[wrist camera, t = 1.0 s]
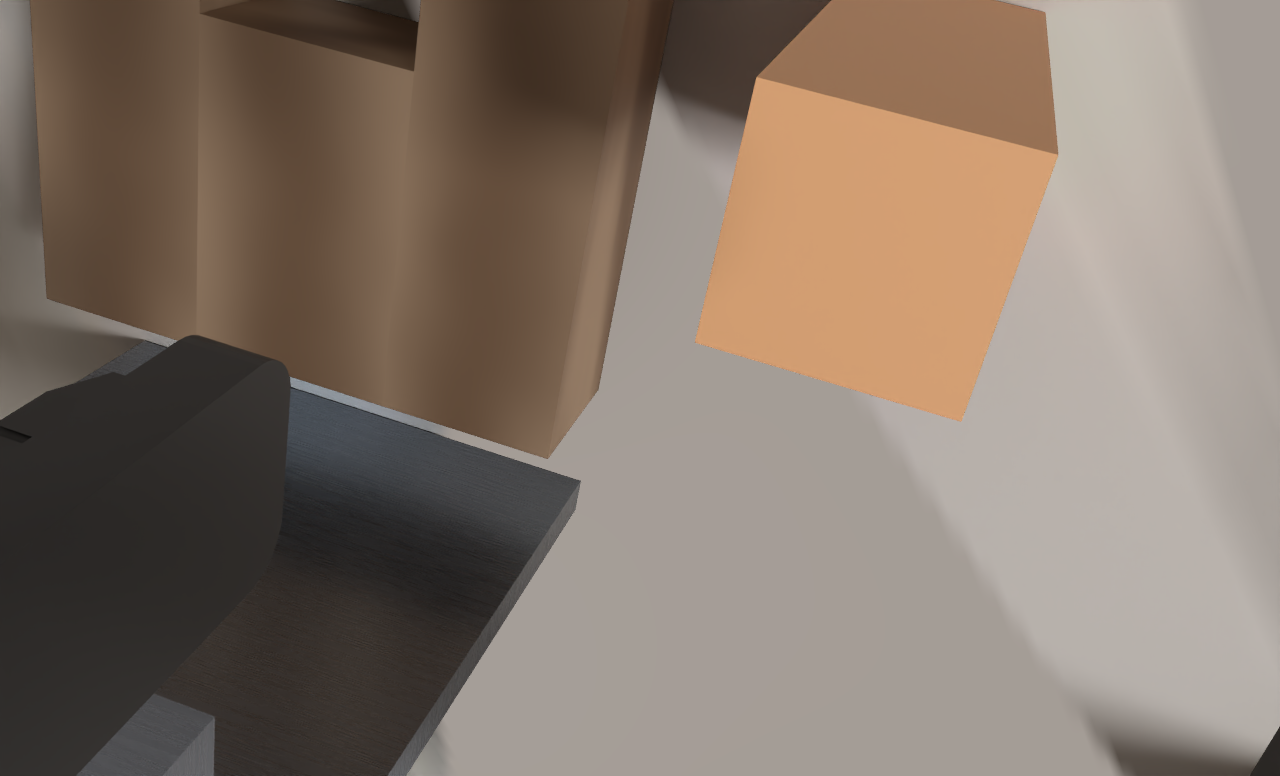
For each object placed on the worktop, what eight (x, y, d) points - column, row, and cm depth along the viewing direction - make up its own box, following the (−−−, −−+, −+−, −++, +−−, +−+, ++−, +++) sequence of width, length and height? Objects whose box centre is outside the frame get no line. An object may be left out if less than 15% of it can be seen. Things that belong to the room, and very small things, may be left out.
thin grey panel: (624, 254, 31) (139, 801, 14) (574, 509, 35) (147, 1182, 18) (141, 115, 33) (-778, 442, 16) (144, 369, 37) (-597, 848, 20)
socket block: (726, -274, 25) (678, -286, 22) (598, 389, 33) (547, 459, 29) (134, -399, 27) (6, -428, 24) (143, 249, 35) (47, 298, 32)
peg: (1045, 12, 26) (1057, 155, 15) (985, 189, 28) (961, 421, 17) (861, -32, 26) (756, 76, 16) (816, 144, 28) (694, 342, 18)
